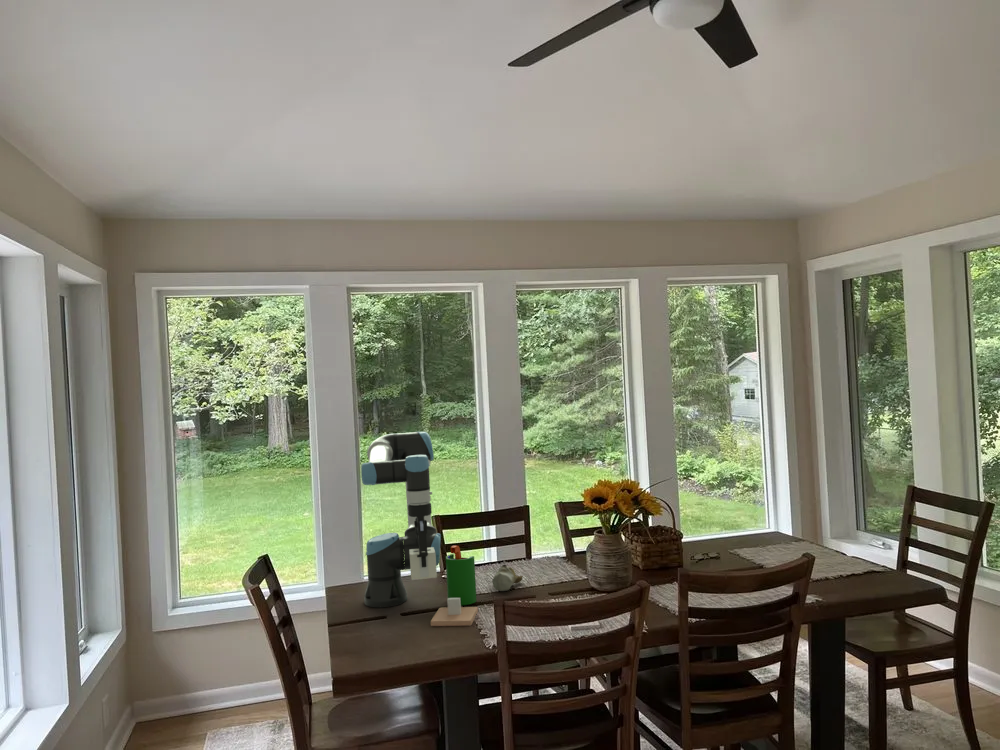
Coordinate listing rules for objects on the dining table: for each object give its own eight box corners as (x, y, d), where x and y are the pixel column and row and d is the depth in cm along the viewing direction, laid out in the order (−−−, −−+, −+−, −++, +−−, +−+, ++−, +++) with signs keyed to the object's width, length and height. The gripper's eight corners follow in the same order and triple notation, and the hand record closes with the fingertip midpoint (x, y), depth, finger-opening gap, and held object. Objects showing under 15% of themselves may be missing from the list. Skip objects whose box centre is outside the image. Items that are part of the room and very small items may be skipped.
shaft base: (430, 625, 227) (429, 605, 227) (439, 611, 240) (438, 592, 240) (471, 625, 225) (469, 604, 225) (478, 611, 238) (476, 591, 238)
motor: (479, 598, 252) (476, 541, 252) (470, 606, 244) (467, 548, 244) (453, 596, 256) (450, 541, 255) (443, 605, 247) (439, 547, 247)
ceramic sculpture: (485, 568, 258) (496, 559, 273) (486, 592, 258) (497, 582, 272) (513, 569, 255) (523, 560, 270) (514, 593, 255) (524, 583, 269)
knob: (411, 580, 227) (410, 554, 227) (410, 573, 235) (409, 548, 235) (436, 577, 228) (435, 551, 228) (435, 571, 236) (433, 546, 236)
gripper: (433, 507, 222) (437, 580, 222) (428, 497, 243) (433, 564, 242) (408, 509, 221) (413, 583, 220) (406, 499, 241) (410, 566, 241)
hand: (423, 573), depth 231 cm, fingers closed on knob, 8 cm apart
